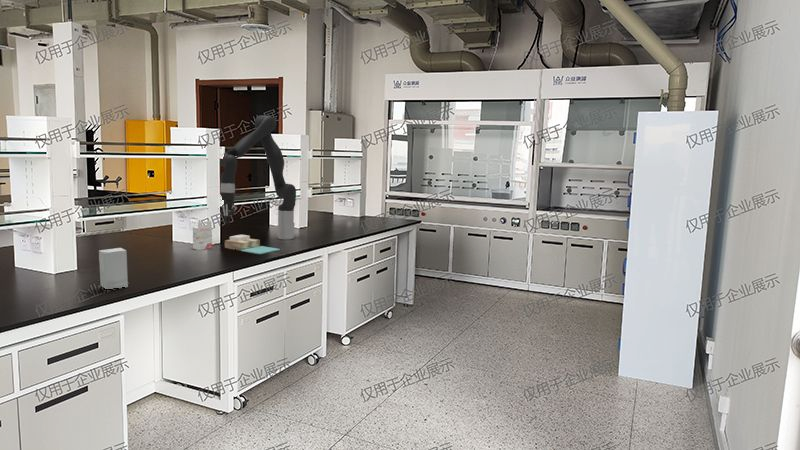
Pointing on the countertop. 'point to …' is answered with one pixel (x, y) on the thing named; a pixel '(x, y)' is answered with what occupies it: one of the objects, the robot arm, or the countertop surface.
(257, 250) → the mat
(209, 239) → the ink cartridge box
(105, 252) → the skincare box
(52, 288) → the countertop surface
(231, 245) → the deck
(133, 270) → the countertop surface
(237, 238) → the slide case
